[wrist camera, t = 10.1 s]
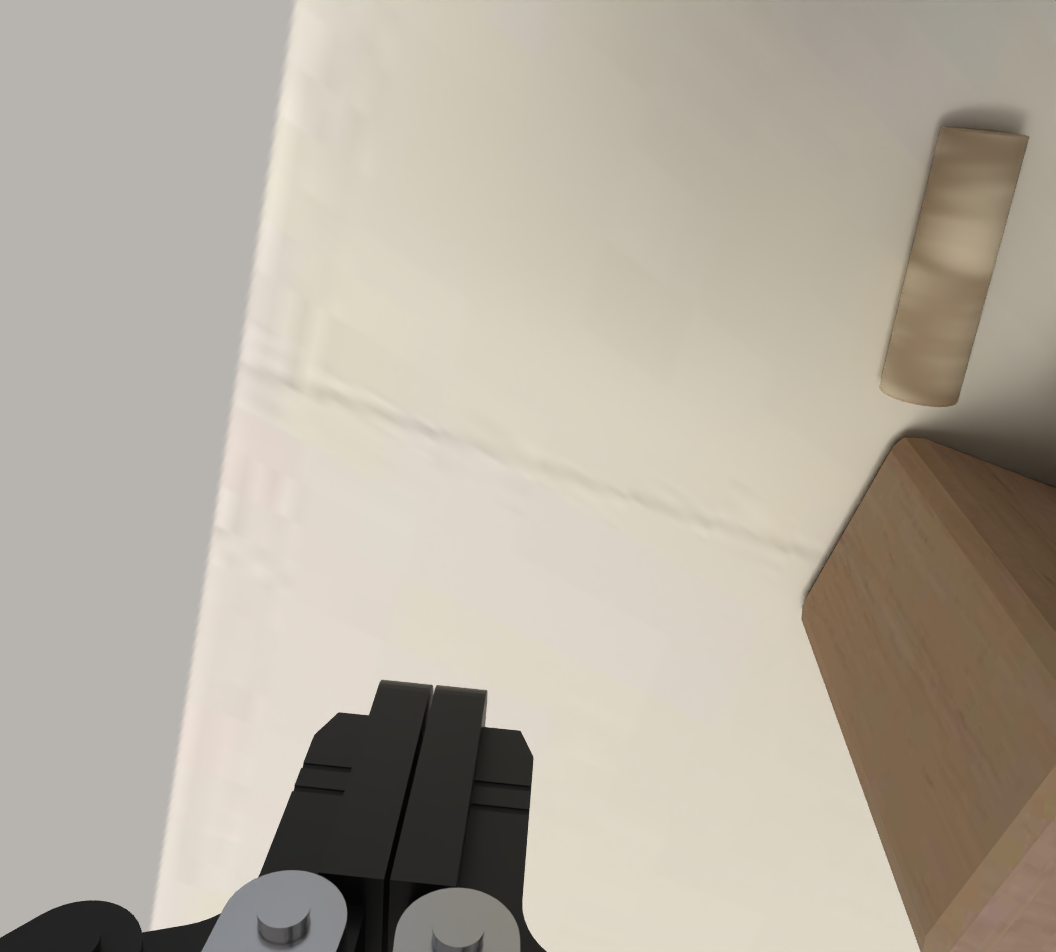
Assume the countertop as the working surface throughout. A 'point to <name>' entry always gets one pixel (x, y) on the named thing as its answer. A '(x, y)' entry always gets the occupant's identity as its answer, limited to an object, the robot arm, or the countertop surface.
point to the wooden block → (951, 690)
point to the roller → (951, 263)
